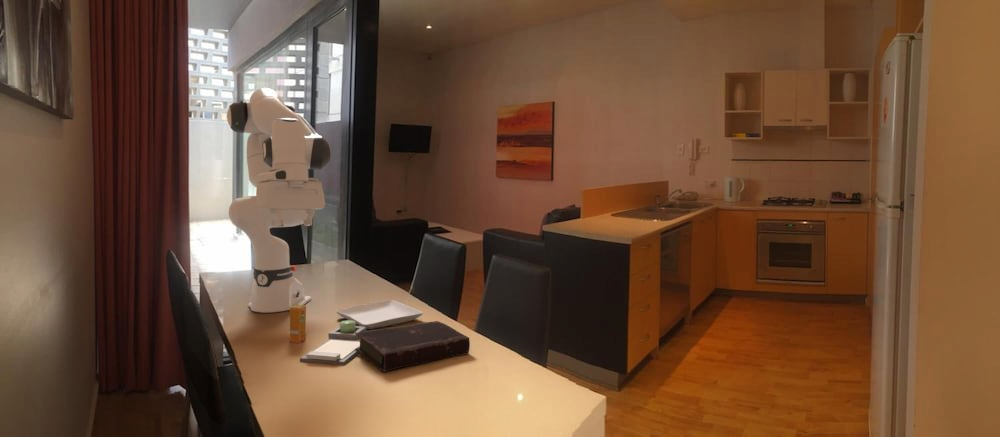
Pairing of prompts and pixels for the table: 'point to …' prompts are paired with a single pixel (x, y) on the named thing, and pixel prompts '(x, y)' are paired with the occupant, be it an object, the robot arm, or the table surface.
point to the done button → (347, 326)
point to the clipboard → (333, 352)
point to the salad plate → (379, 314)
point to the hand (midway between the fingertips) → (294, 226)
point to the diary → (411, 344)
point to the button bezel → (345, 334)
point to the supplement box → (297, 323)
